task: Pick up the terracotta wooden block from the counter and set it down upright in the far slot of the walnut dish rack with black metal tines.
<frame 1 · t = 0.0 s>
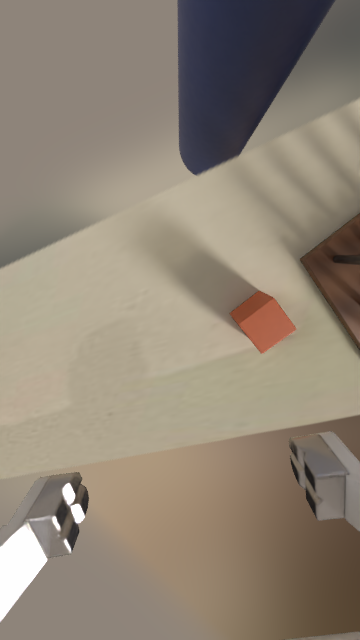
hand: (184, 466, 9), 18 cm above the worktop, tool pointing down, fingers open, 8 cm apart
block: (254, 315, 25), on the worktop
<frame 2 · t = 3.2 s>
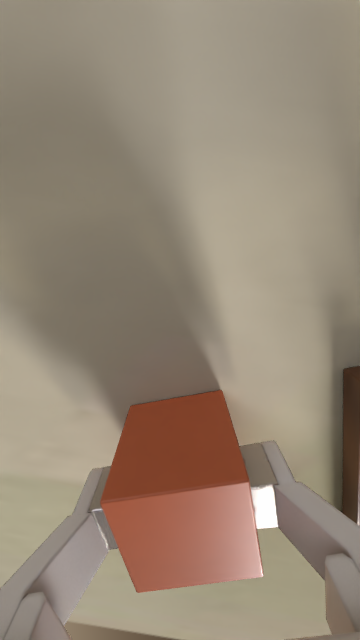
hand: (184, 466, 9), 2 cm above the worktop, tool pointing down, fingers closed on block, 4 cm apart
block: (184, 434, 10), on the worktop, touching gripper
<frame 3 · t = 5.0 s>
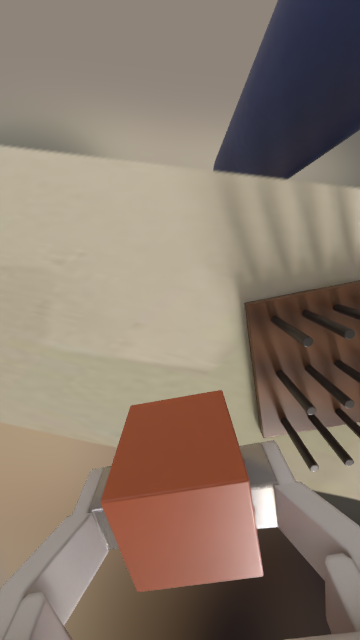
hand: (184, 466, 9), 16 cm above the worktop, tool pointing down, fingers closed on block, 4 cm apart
block: (184, 434, 10), point 14 cm above the worktop, touching gripper
dish rack: (317, 361, 25), on the worktop
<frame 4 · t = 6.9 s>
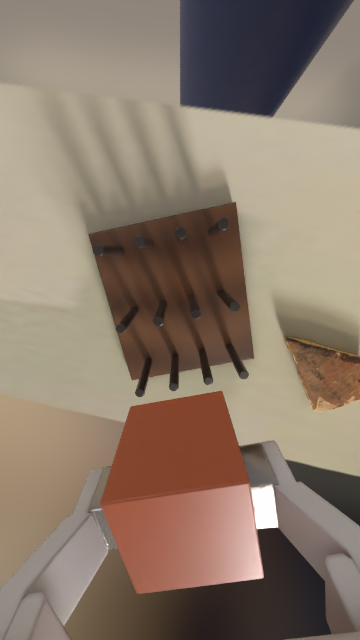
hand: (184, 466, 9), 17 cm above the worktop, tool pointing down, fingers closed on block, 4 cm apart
shard: (313, 373, 27), on the worktop
block: (184, 435, 10), point 16 cm above the worktop, touching gripper
dish rack: (177, 299, 24), on the worktop
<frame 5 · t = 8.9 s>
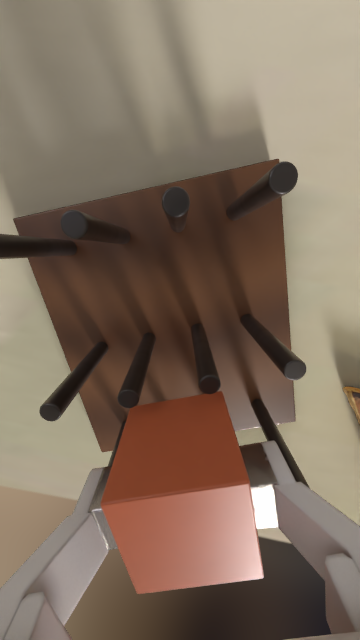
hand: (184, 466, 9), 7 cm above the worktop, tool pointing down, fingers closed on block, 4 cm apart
block: (184, 435, 10), point 6 cm above the worktop, touching gripper
dish rack: (173, 328, 15), on the worktop
when the fingers open (2 cm above the worktop, at t = 10.5 s): block stays where it is, resting on dish rack.
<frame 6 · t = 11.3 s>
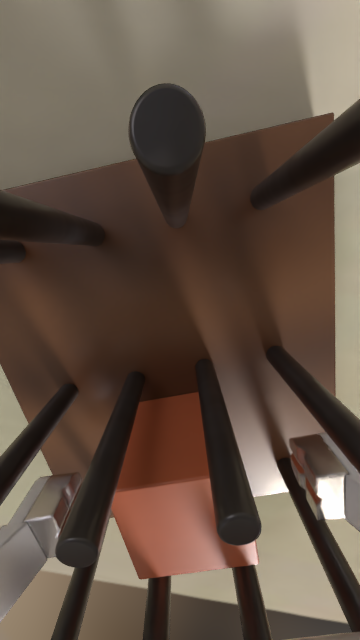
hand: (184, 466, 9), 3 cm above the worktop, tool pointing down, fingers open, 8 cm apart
block: (184, 431, 11), point 1 cm above the worktop, touching dish rack
dish rack: (170, 362, 11), on the worktop
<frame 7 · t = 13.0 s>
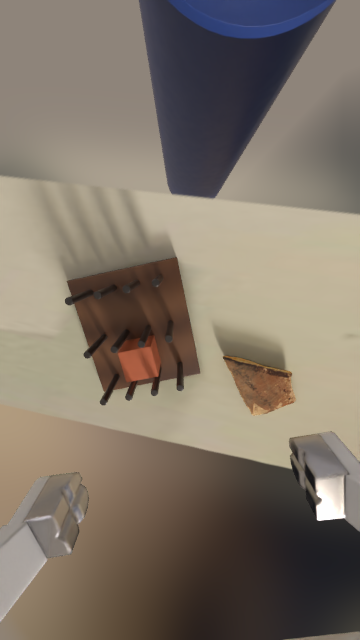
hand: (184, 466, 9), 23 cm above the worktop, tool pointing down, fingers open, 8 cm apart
shard: (251, 384, 34), on the worktop
block: (143, 351, 31), point 1 cm above the worktop, touching dish rack
dish rack: (138, 327, 31), on the worktop
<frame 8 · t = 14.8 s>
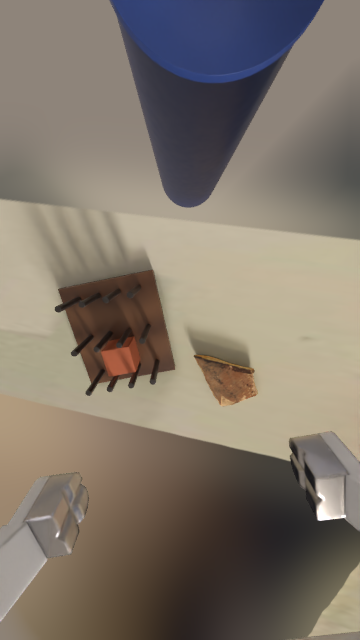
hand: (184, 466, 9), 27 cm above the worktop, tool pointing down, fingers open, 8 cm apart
shard: (220, 379, 39), on the worktop
block: (125, 350, 36), point 1 cm above the worktop, touching dish rack
dish rack: (121, 329, 36), on the worktop
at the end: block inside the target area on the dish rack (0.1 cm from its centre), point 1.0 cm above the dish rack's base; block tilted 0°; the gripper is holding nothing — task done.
